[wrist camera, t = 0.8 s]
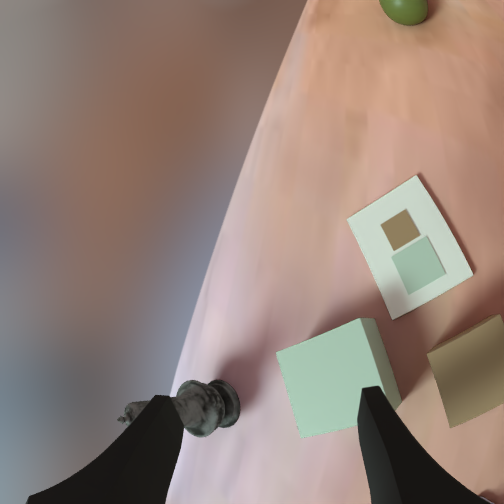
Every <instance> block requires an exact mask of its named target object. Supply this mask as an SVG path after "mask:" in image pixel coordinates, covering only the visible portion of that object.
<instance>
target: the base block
mask: <svg viewBox="0 0 504 504" xmlns="http://www.w3.org/2000/svg"><path fill="white" fill-rule="evenodd" d="M276 355H277V359H278V362H279V365H280V369H281V372H282V376H283V379H284V382H285V386H286V389H287V393H288V396H289V399H290V403H291V406H292V409H293V413H294V416H295V420H296V423H297V426H298V430H299V433H300V436H301V438H305V437H310V436H315V435H320V434H324V433H329V432H333V431H337V430H341V429H345V428H349V427H353V426H357V425H358V424H357V416H358V410H359V404H360V398H361V391H362V388H365V387H371V386H377V385H378V386H380V387H381V389H382V391H383V393H384V394H385V396H386V398H387V399H388V401H389V402H390V404H391V406H392V407H393V409H394V410H396V409H397V408H398V406H399V405H400V404H401V403H402V400H401V396H400V393H399V390H398V387H397V383H396V380H395V377H394V374H393V371H392V368H391V365H390V362H389V359H388V356H387V353H386V350H385V347H384V344H383V341H382V338H381V335H380V333H379V330H378V327H377V324H376V322H375V319H374V318H358V319H355V320H353V321H351V322H349V323H346V324H344V325H342V326H340V327H337V328H335V329H333V330H330V331H328V332H326V333H323V334H321V335H318V336H316V337H314V338H311V339H309V340H306V341H304V342H301V343H299V344H296V345H294V346H291V347H288V348H286V349H283V350H281V351H278V352H276Z"/></svg>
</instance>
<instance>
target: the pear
mask: <svg viewBox="0 0 504 504" xmlns="http://www.w3.org/2000/svg"><path fill="white" fill-rule="evenodd" d="M379 2H380V5H381V7H382V9H383V10H384V12H385V13H386V14H387V16H388V17H389V18H391V19H392V20H393V21H395V22H397V23H399V24H402V25H415V24H418V23H420V22H422V21H423V20H424V19H425V18H426V16H427V13H428V4H427V0H379Z"/></svg>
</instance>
